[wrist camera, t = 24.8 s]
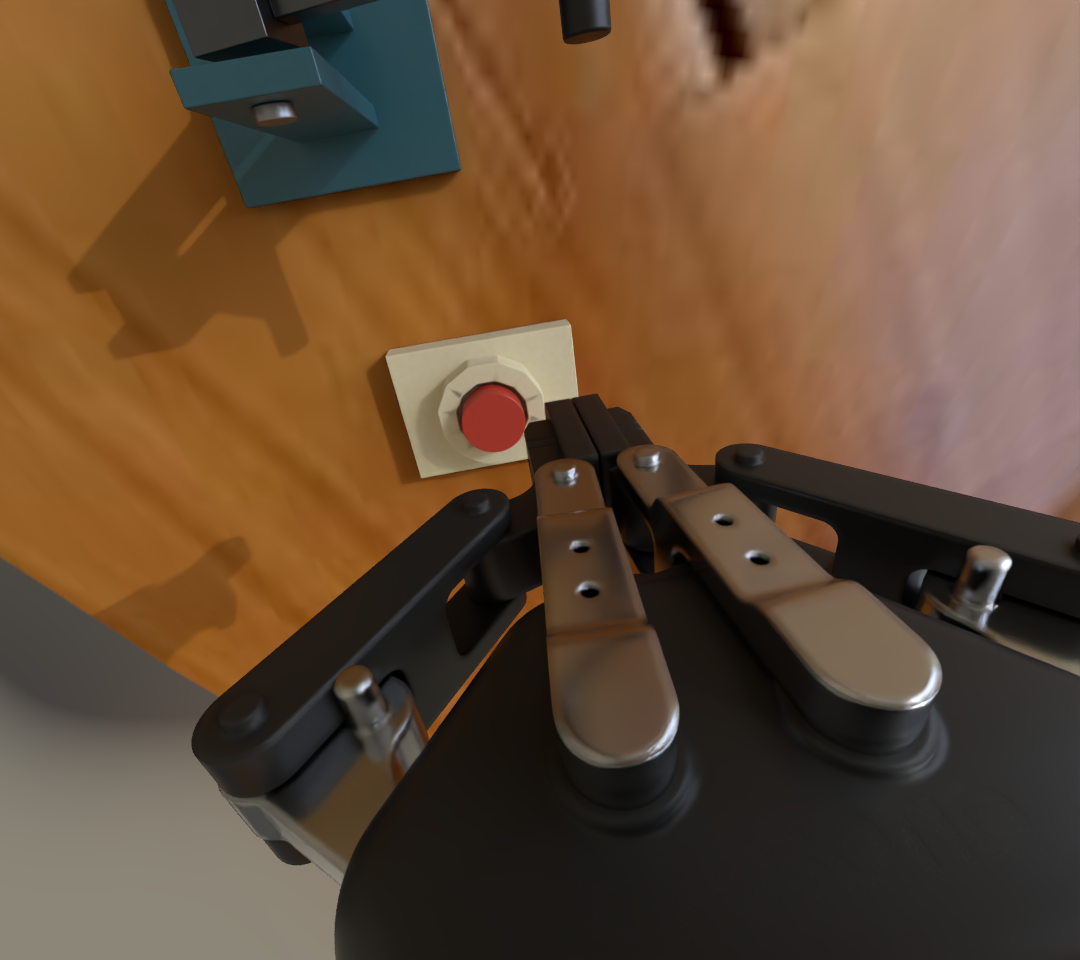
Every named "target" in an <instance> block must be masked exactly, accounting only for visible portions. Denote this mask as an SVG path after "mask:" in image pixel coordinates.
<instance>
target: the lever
mask: <svg viewBox="0 0 1080 960" xmlns="http://www.w3.org/2000/svg"><path fill="white" fill-rule="evenodd" d="M172 1H173V4H174V7H175V9H176V12H177V14H178V17H179V19H180V22H181V25H182V27H183V30H184V32H185V35H186V38H187V40H188V43H189V45H190V48H191V50H192V53H193V56H194V57H195V58H197V59H202V60H206V61H211V62H219V61H225V60H230V59H236V58H242V57H248V56H254V55H259V54H265V53H271V52H277V51H283V50H289V49H294V48H300V47H306V46H309V45H308V41H307V38H306V35H305V31H304V28H303V25H302V22H306V21H309V20H313V19H316V18H320V17H323V16H326V15H330V14H333V13H337V12H340V11H344V10H347V9H351V8H354V7H358V6H361V5H364V4H368V3H371V2H375V1H378V0H172ZM559 6H560V15H561V25H562V34H563V40H564V42H565V43H567V44H582V43H587V42H591V41H595V40H598V39H601V38H603V37H605V36H607V35H608V34H609V33H610V32H611V17H610V2H609V0H559Z"/></svg>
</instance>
